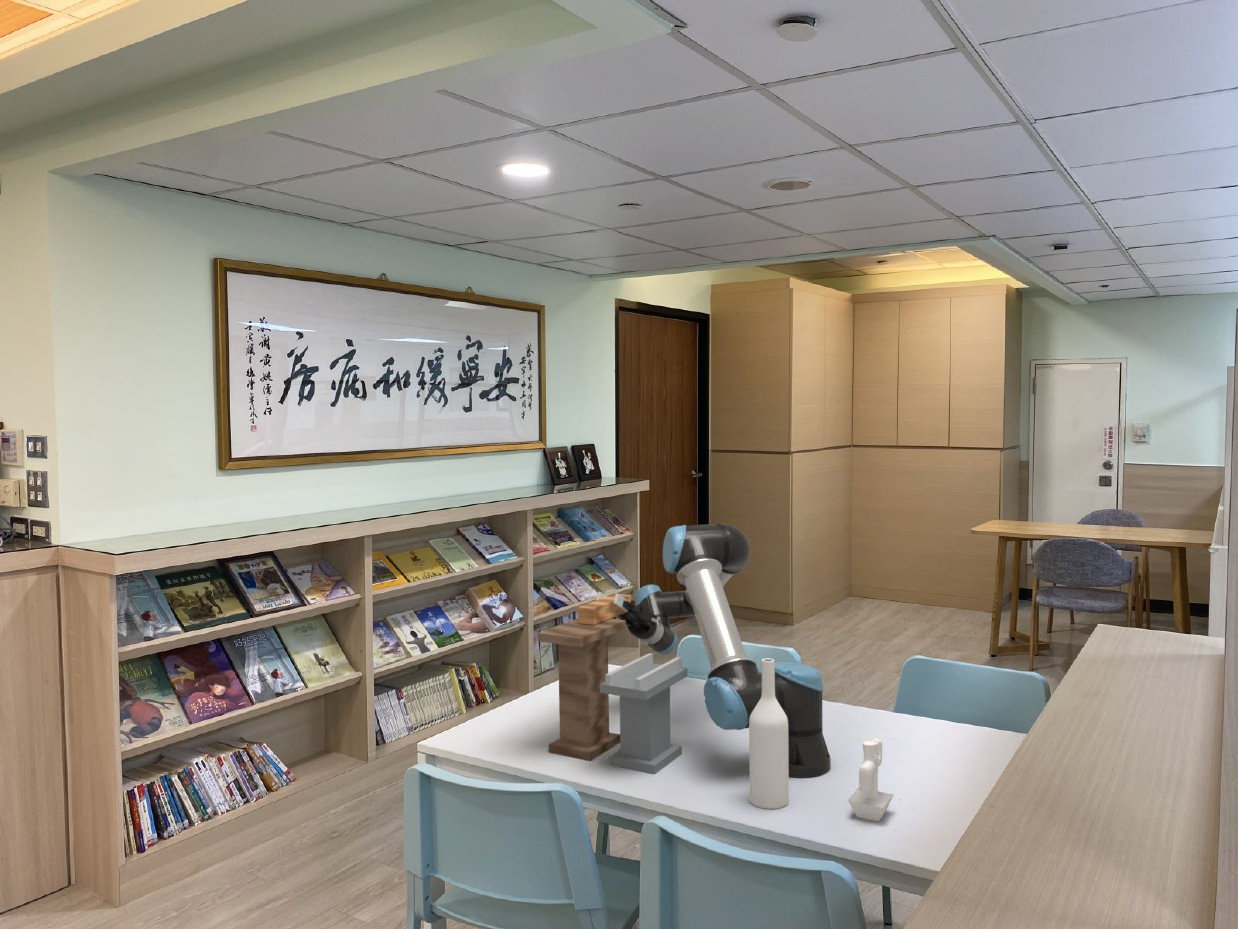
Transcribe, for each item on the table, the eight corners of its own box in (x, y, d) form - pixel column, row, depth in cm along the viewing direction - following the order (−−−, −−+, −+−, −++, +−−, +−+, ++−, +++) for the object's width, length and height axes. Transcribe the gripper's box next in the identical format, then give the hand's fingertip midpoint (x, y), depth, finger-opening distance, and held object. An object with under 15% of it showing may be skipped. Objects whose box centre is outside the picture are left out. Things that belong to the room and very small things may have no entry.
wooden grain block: (616, 608, 241) (616, 593, 241) (631, 610, 238) (631, 595, 238) (578, 623, 224) (577, 607, 224) (593, 624, 222) (593, 608, 222)
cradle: (644, 741, 227) (643, 652, 225) (688, 749, 221) (687, 658, 219) (601, 770, 208) (599, 673, 207) (647, 779, 202) (645, 680, 201)
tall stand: (587, 730, 235) (585, 615, 234) (627, 738, 229) (625, 620, 228) (540, 757, 217) (537, 633, 215) (582, 766, 211) (580, 638, 209)
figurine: (845, 820, 181) (845, 746, 180) (860, 803, 189) (859, 732, 188) (882, 828, 177) (882, 752, 176) (895, 810, 185) (895, 738, 184)
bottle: (796, 803, 189) (796, 661, 187) (766, 813, 185) (765, 667, 183) (771, 790, 196) (770, 652, 194) (741, 799, 191) (740, 658, 190)
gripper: (670, 643, 244) (633, 615, 226) (614, 636, 253) (574, 608, 235) (676, 616, 247) (640, 586, 229) (620, 610, 256) (581, 581, 238)
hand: (607, 597), depth 232 cm, fingers closed on wooden grain block, 5 cm apart
